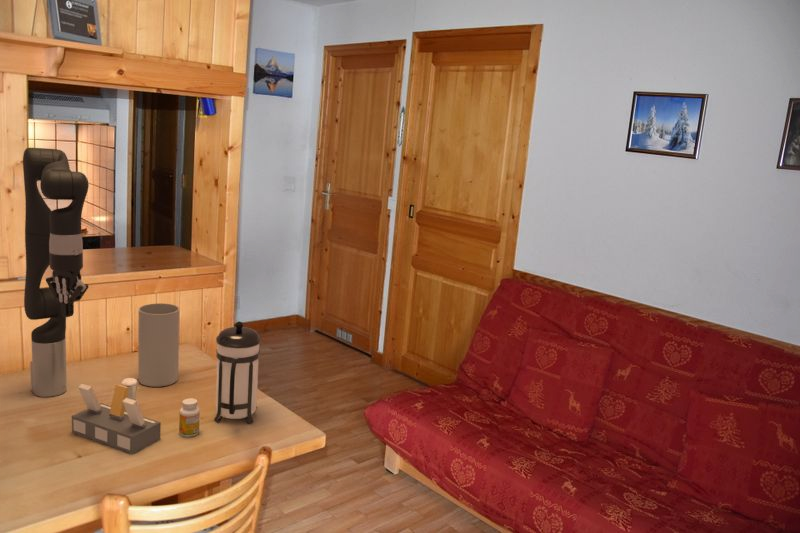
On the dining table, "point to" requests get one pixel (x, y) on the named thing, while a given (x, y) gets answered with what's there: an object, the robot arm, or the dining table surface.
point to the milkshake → (131, 387)
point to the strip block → (115, 429)
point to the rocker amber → (118, 402)
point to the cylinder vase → (158, 344)
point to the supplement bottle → (189, 418)
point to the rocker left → (89, 398)
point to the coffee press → (237, 373)
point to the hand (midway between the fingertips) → (67, 316)
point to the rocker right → (134, 412)
